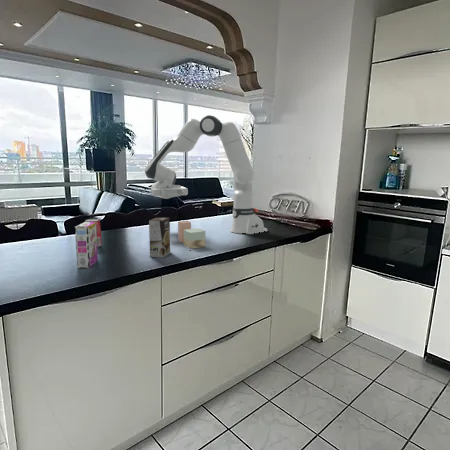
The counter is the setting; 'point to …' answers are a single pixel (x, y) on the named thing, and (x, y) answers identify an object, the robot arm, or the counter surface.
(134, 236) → the counter surface
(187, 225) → the coral block
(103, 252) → the counter surface
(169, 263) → the counter surface
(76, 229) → the candy bar box
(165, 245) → the coffee box
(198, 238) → the sage slab
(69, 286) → the counter surface
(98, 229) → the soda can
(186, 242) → the oak slab
